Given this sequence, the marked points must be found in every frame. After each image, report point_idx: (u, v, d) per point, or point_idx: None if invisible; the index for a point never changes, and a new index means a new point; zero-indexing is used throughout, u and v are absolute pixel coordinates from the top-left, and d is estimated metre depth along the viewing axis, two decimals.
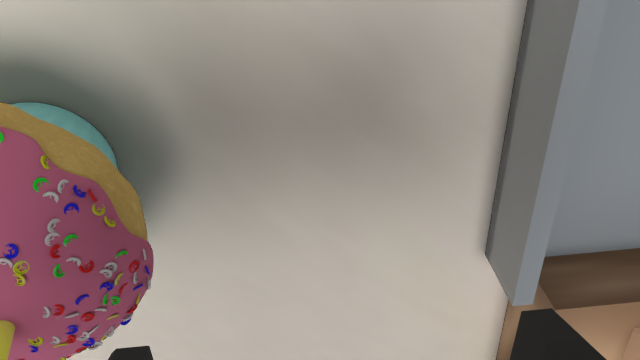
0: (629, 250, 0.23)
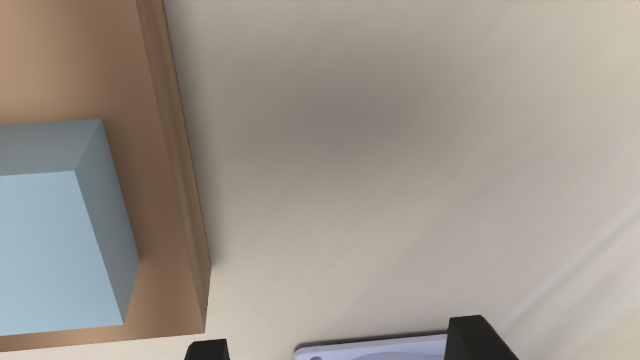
0: None
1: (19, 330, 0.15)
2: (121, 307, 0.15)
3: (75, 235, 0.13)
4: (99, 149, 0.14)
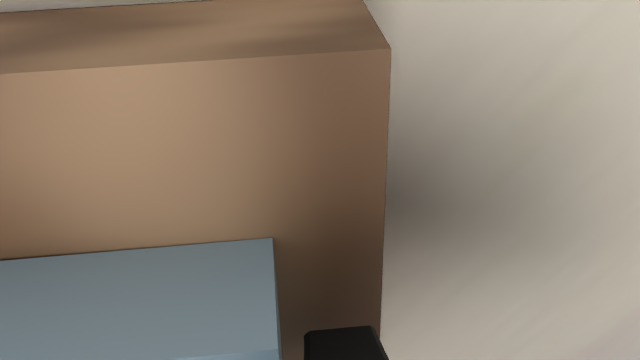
0: None
1: None
2: None
3: None
4: (276, 286, 0.10)
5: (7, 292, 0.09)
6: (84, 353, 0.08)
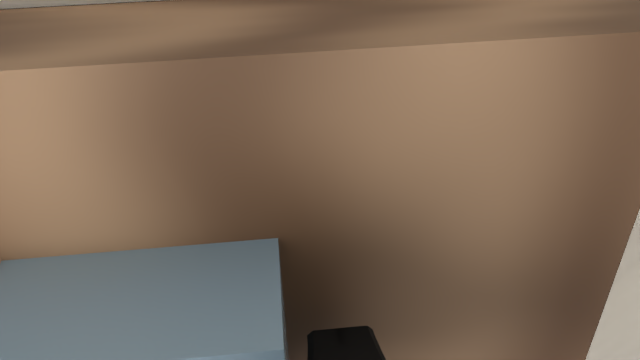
0: None
1: None
2: None
3: None
4: (281, 286, 0.10)
5: (14, 291, 0.09)
6: (90, 353, 0.08)
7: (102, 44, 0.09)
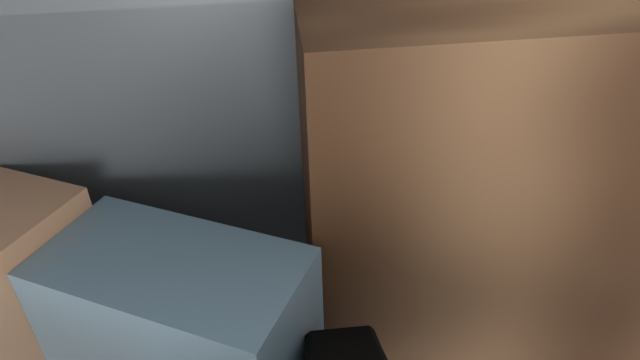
0: None
1: None
2: None
3: None
4: (306, 295, 0.10)
5: (97, 223, 0.11)
6: (113, 294, 0.09)
7: (553, 18, 0.09)
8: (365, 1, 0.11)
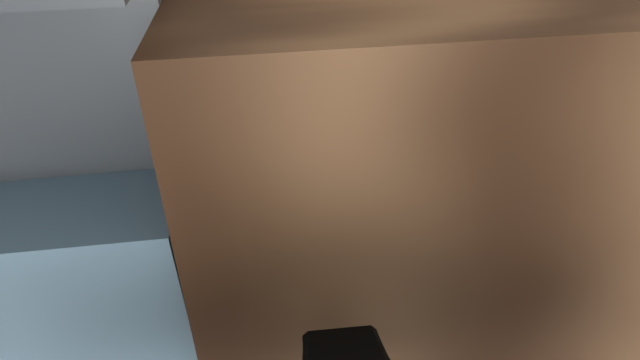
0: None
1: None
2: None
3: (162, 309, 0.11)
4: None
5: None
6: (18, 243, 0.10)
7: (406, 25, 0.09)
8: (230, 6, 0.10)
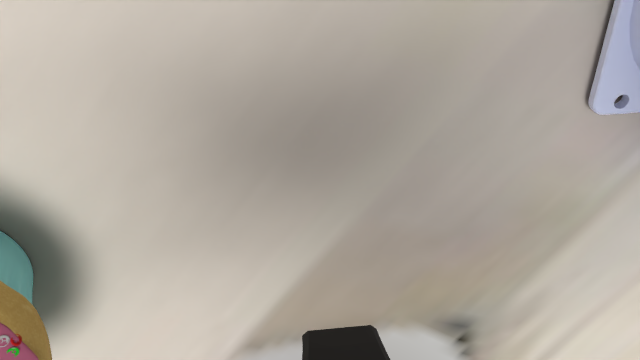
0: None
1: None
2: None
3: None
4: None
5: None
6: None
7: None
8: None
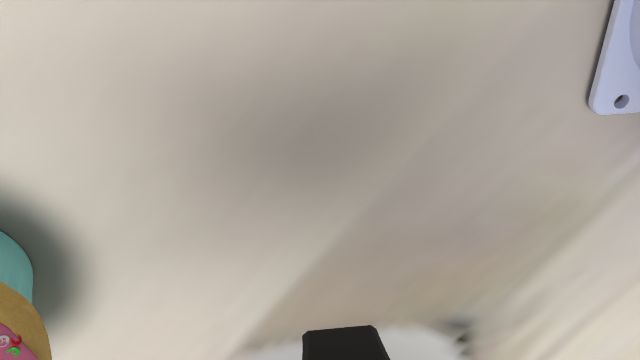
0: None
1: None
2: None
3: None
4: None
5: None
6: None
7: None
8: None
